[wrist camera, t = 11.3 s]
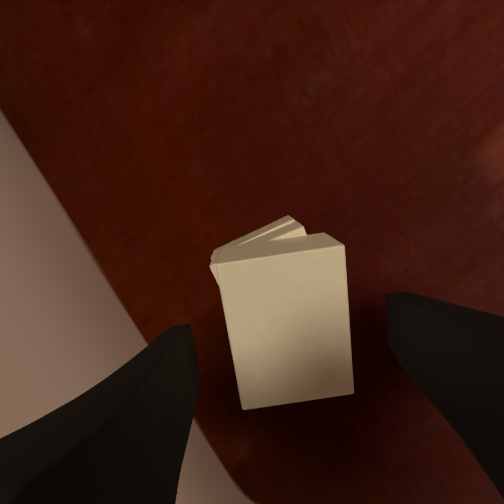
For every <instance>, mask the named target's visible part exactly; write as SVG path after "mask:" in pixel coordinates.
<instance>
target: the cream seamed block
mask: <svg viewBox="0 0 504 504" xmlns="http://www.w3.org/2000/svg"><path fill="white" fill-rule="evenodd" d="M305 235H307V234H306V231H305V229H304V227H303V226H302V225H301V224H300V223H298V222H297V221H295V220H294V219H293V218H292V217H290V216H289V215H287V216H285V217H283V218H281V219H279V220H277V221H275V222H273V223H270V224H268V225H266V226H264V227H262V228H260V229H258V230H256V231H253V232H251V233H249V234H247V235H245V236H243V237H241V238H238V239H236V240H234V241H232V242H230V243H228V244H226V245H224V246H221V247H219V248H217V249H215V250H214V251H213V254H212V256H211V260H212V261H211V263H210V269H211V271H212V273H213V275H214V277H215V279H216V281H217V283H218V285H219V281H218V276H217V270H216V262H217V259H218V256H219V252H220V249H221V248H224V247H231V246H237V245H244V244H251V243H257V242H264V241H271V240H278V239H284V238H291V237H298V236H305Z"/></svg>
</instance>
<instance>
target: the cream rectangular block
mask: <svg viewBox="0 0 504 504" xmlns="http://www.w3.org/2000/svg"><path fill="white" fill-rule="evenodd" d="M216 270H217V276H218V281H219V287H220V292H221V297H222V303H223V308H224V314H225V319H226V325H227V330H228V335H229V341H230V346H231V352H232V357H233V363H234V368H235V373H236V379H237V384H238V390H239V395H240V401H241V406H242V409H243V410H248V409H255V408H261V407H268V406H275V405H281V404H288V403H295V402H302V401H308V400H315V399H322V398H329V397H335V396H342V395H349V394H353V393H354V385H353V369H352V353H351V338H350V322H349V306H348V290H347V275H346V259H345V246H344V245H343V244H342V243H340V242H338V241H337V240H335V239H334V238H332V237H330V236H329V235H327V234H326V233H318V234H311V235H305V236H298V237H291V238H284V239H278V240H271V241H264V242H257V243H251V244H244V245H237V246H231V247H224V248H221V249H220V252H219V256H218V259H217V262H216Z"/></svg>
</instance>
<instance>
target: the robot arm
mask: <svg viewBox="0 0 504 504" xmlns="http://www.w3.org/2000/svg"><path fill="white" fill-rule="evenodd" d="M386 303H387V340H388V346H389V347H390V349H391V351H392V352H393V354H394V356H395V357H396V359H397V360H398V362H399V363H400V365H401V366H402V368H403V369H404V370H405V371H406V373H407V374H408V375H409V376H410V378H411V379H412V380H413V381H414V382H415V384H416V385H417V386H418V387H419V388H420V389H421V391H422V392H423V393H424V394H425V395H426V396H427V398H428V399H429V400H430V401H431V402H432V404H433V405H434V406H435V407H436V408H437V409H438V411H439V412H440V413H441V414H442V415H443V416H444V418H445V419H446V420H447V421H448V422H449V423H450V425H451V426H452V427H453V428H454V430H455V431H456V432H457V433H458V435H459V436H460V437H461V439H462V440H463V441H464V443H465V444H466V445H467V447H468V448H469V450H470V451H471V452H472V454H473V455H474V457H475V458H476V460H477V461H478V462H479V464H480V465H481V467H482V468H483V469H484V471H485V472H486V474H487V475H488V477H489V478H490V480H491V481H492V482H493V484H494V485H495V487H496V488H497V490H498V491H499V493H500V494H501V496H502V497H503V499H504V317H503V316H499V315H495V314H490V313H486V312H482V311H478V310H474V309H470V308H467V307H463V306H459V305H455V304H452V303H448V302H444V301H441V300H437V299H433V298H430V297H426V296H422V295H418V294H413V293H408V292H399V293H392V294H386ZM199 378H200V370H199V365H198V361H197V356H196V352H195V347H194V343H193V338H192V333H191V329H190V324H184V325H177V326H172V327H171V328H169V329H168V330H166V331H165V332H164V333H163V334H161V335H160V336H159V337H158V338H157V339H155V340H154V341H153V342H152V343H151V344H149V345H148V346H147V347H146V348H145V349H143V350H142V351H141V352H140V353H138V354H137V355H136V356H135V357H134V358H132V359H131V360H130V361H128V362H127V363H126V364H124V365H123V366H122V367H121V368H119V369H118V370H117V371H115V372H114V373H113V374H111V375H110V376H108V377H107V378H106V379H104V380H103V381H101V382H100V383H98V384H97V385H95V386H94V387H92V388H91V389H89V390H88V391H86V392H85V393H83V394H81V395H80V396H78V397H77V398H75V399H74V400H72V401H70V402H69V403H66V404H65V405H63V406H61V407H60V408H58V409H56V410H54V411H52V412H50V413H49V414H47V415H45V416H43V417H42V418H40V419H38V420H36V421H34V422H32V423H30V424H29V425H27V426H25V427H23V428H21V429H19V430H17V431H15V432H13V433H11V434H9V435H7V436H5V437H2V438H0V504H175V502H176V495H177V488H178V481H179V476H180V471H181V466H182V462H183V458H184V453H185V449H186V444H187V441H188V436H189V432H190V428H191V424H192V420H193V416H194V411H195V407H196V403H197V397H198V389H199Z"/></svg>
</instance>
